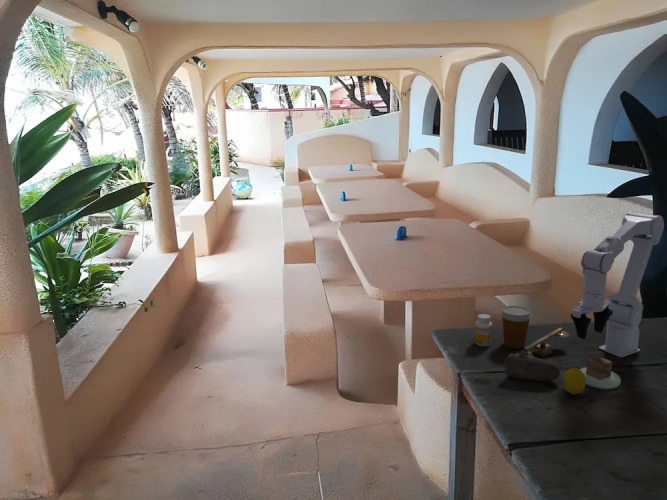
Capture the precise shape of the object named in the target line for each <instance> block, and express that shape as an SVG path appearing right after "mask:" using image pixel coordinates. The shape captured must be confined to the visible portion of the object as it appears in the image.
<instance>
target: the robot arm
mask: <svg viewBox="0 0 667 500" xmlns="http://www.w3.org/2000/svg"><path fill="white" fill-rule="evenodd" d="M664 228H665V222H664V218H663V216H662V215H660V214H659V215H655V214H654V215H653V214H645V213H640V212H639V213H638V212H633V211H628V212H627V213H626V214H625V215H624V216H623V218H622V222H621V226H620V228H619V229H617V231H616V232H615V233H614V235H608V236H606V237H605V238H604V239H603V240H602V241H601V242H600V243H599V244H598V245H597V246H595V248H593V249H589V250H587V251H585V252H584V253H583V254H582V257H581V260H580V265H581V266H580V267H581V268H582V275H583V276H584V277H583V285H582V286H583V288H582V298H581V299H582V300H581V301H579V302H578V306H577V307H576V308H574V309H572V312H571V313H570V318H571V320H572V321H573V324H574V326H575V330H576V336H577V337H578V338H580V339H582V340H585V339H586V337H587V334H588V330H589V329H588V328H589V325H590V323H591V322H592V320H594V321H593V329H594V332H596V333H599V334H602V333H603V332H604V329H605V327H606V335H605V343H604V345H600V346H598V349H599V350H601V351H603V352H606V353H609V354H611V355H614V356H616V357H618V358H625V357H627V356H629V355H632V354H637V353H638V352H640V351H641V349H640V348H638V347H639V338H640V329H639V325H640V323H641V321H642V317H643V310H644V305H643V304H642V302H641V301H640V299H638V296H637V295H638V292H639V288H640V285H641V283H642V279H643V277H644V274H645V270H646V268H647V264H648V262H649V258H650V255H651V252H652V249H653V246H657V245H658V244H659V242H660V240H661V237H662V235H663V233H664ZM629 241H630V242H632V243H633V247H632V250H631V252H630V256H629V259H628V261H627V265H626V267H625V270H624V273H623V274H624V275H623V276H622V279H621V283H620V287H619V288H618V292H615V293H613V294H610V295H608V297H607V299H605V295H606V287H607V286H606V285H607V277H608V273H609V272H610V270H611V269H612V266H613V264H614V262H615V259H617V257H618V256H619V255H620V254H621V253H622V252H623V251H624V249H625V244H626V243H627V242H629ZM591 313H593V319H592V318H590V317H588V316H587V314H591ZM606 324H607V326H606Z"/></svg>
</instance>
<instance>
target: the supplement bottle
mask: <svg viewBox="0 0 667 500" xmlns="http://www.w3.org/2000/svg"><path fill="white" fill-rule="evenodd" d="M474 328H475V329H474V343H475V344H476V345H477V346H479V347H490V346H491V345H492V341H493V340H492V339H493V336H492V335H493V323H492V321H491V315H489V314H487V313H480V314H478V315H477V321H476V322H475V325H474Z"/></svg>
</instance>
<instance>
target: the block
mask: <svg viewBox="0 0 667 500" xmlns="http://www.w3.org/2000/svg"><path fill="white" fill-rule="evenodd" d="M586 360H587V361H586V367H587V368H586V374H587V375H590V376H592V377H594V378H596V379H598V380H602V379H605V378H608V377H610V376H611V371H612V366H613V365H612V364H613V361H611V360H608V359H606V358H604V357H601V356H599V355H597V356H593V357H591V358H588V359H586Z"/></svg>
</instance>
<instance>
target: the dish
mask: <svg viewBox="0 0 667 500" xmlns="http://www.w3.org/2000/svg"><path fill="white" fill-rule="evenodd" d="M586 368H587V366H586V367H581V368H579V370H581V371H582V372H583V373H584V375H585V380H586V384H585V386H589V387H592V388H595V389H600V390H613V389H616V388H619V387H620V385H621V382H622V381H621V379H622V378H621V377H620V375H618V374H617V373H616V372H614V371H612V370H611V376H610V377H608V378H605V379H602V380H598V379H596V378H594V377H592V376H590V375H587V374H586Z"/></svg>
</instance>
